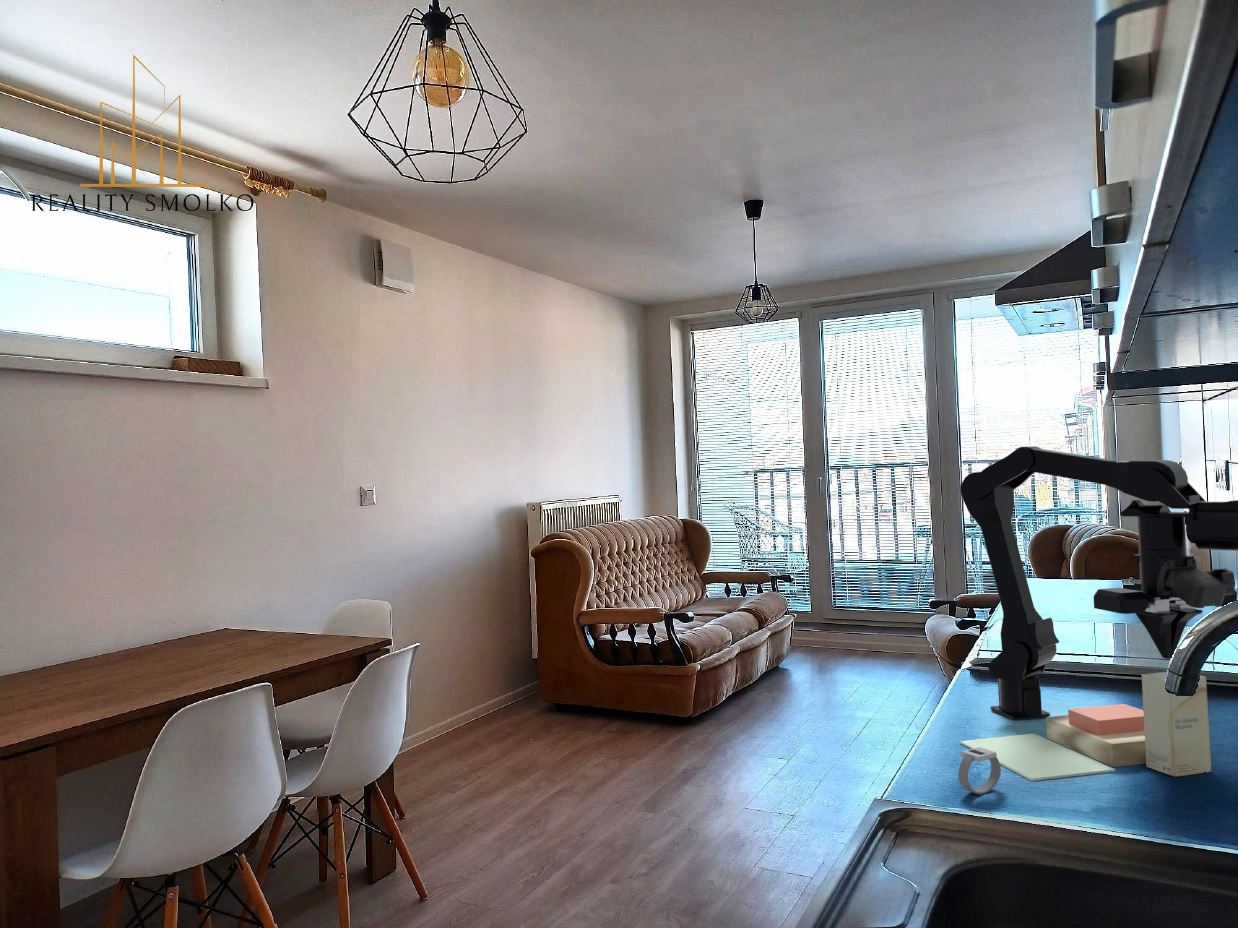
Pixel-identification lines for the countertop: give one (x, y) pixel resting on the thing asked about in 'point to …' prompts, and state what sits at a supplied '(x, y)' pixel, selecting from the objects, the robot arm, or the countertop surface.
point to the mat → (1038, 757)
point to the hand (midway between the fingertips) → (1167, 658)
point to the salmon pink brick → (1108, 719)
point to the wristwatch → (979, 755)
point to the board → (1099, 743)
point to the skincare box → (1175, 728)
